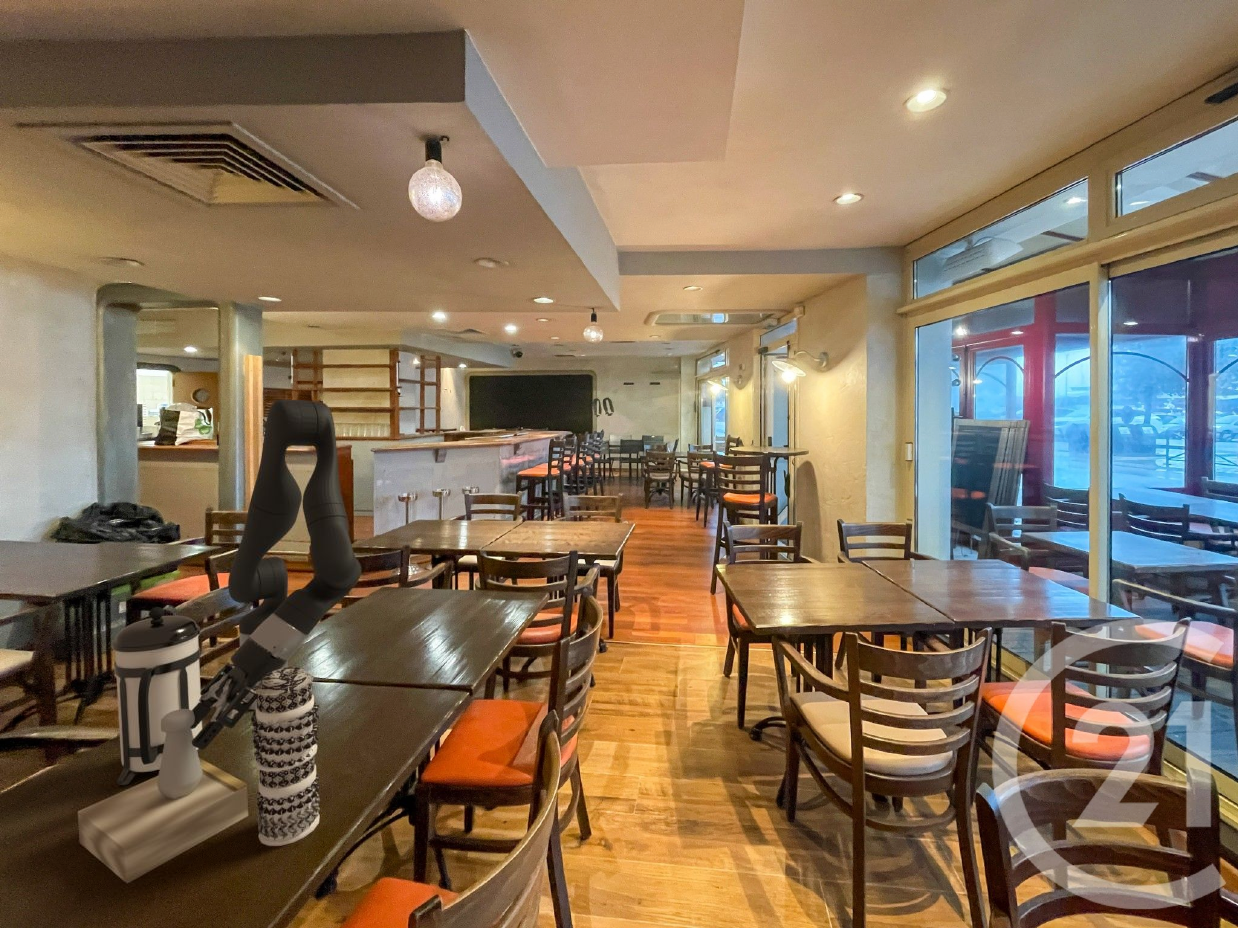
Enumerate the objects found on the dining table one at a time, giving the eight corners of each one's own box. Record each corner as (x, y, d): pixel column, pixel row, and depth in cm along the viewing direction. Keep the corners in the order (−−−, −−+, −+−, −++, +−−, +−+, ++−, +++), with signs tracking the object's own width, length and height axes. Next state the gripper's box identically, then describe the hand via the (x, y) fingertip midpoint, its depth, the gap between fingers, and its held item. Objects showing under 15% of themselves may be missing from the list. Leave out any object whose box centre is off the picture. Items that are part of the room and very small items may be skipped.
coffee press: (85, 780, 103) (75, 616, 101) (181, 735, 118) (174, 592, 116) (145, 803, 96) (136, 629, 95) (238, 753, 111) (232, 602, 109)
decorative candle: (294, 851, 86) (288, 688, 84) (240, 843, 87) (234, 684, 86) (335, 811, 95) (330, 663, 93) (285, 804, 96) (280, 659, 95)
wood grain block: (79, 842, 87) (77, 808, 87) (197, 785, 101) (196, 756, 101) (127, 883, 80) (125, 846, 79) (248, 815, 93) (246, 783, 93)
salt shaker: (178, 805, 88) (174, 723, 88) (148, 800, 89) (143, 720, 89) (212, 782, 94) (208, 705, 93) (183, 778, 95) (179, 702, 94)
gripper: (241, 625, 102) (162, 710, 95) (263, 647, 92) (177, 744, 85) (276, 646, 106) (203, 729, 99) (300, 669, 96) (222, 763, 89)
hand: (191, 736), depth 92 cm, fingers open, 8 cm apart
